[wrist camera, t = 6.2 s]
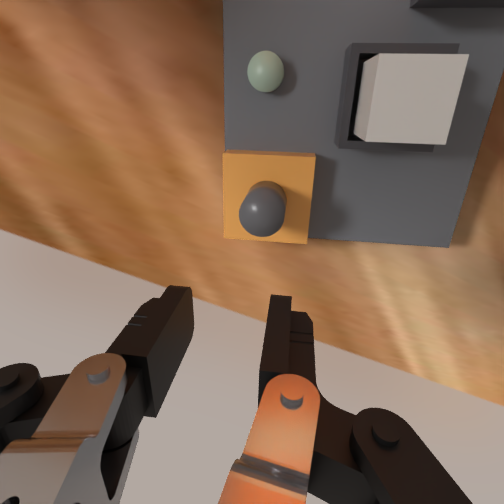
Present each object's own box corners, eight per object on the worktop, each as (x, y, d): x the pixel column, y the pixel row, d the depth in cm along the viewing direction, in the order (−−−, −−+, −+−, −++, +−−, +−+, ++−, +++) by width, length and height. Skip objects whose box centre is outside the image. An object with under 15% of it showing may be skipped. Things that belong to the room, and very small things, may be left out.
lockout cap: (228, 229, 28) (213, 257, 23) (227, 149, 25) (210, 161, 20) (306, 235, 27) (307, 264, 22) (314, 153, 24) (318, 166, 20)
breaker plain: (353, 133, 21) (365, 141, 17) (363, 62, 20) (379, 53, 16) (417, 135, 21) (445, 144, 17) (433, 63, 19) (469, 54, 15)
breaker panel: (232, 220, 31) (218, 246, 25) (231, -101, 21) (207, -167, 16) (434, 233, 29) (465, 265, 23) (532, -114, 19) (622, -195, 14)
